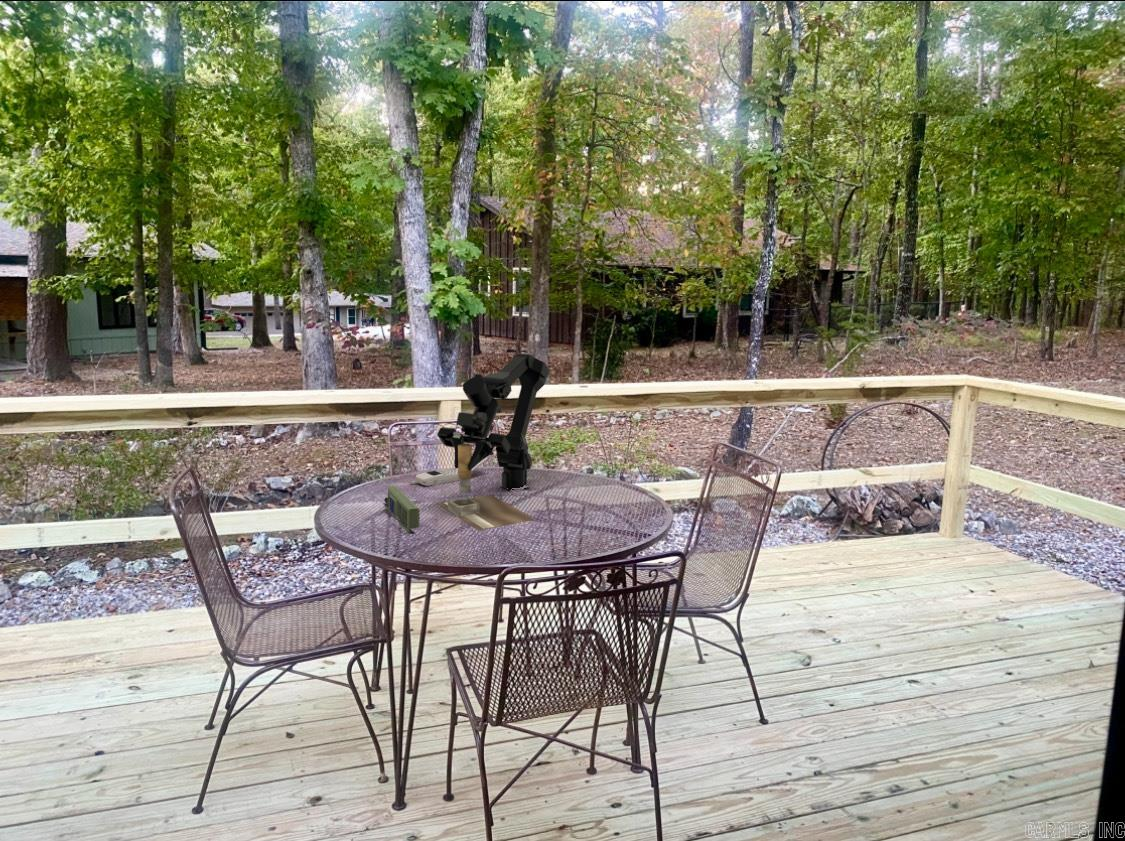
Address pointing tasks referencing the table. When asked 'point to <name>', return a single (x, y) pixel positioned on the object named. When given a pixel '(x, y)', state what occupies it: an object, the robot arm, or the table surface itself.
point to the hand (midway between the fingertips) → (462, 468)
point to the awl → (464, 467)
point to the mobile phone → (440, 476)
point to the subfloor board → (485, 512)
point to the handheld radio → (402, 508)
